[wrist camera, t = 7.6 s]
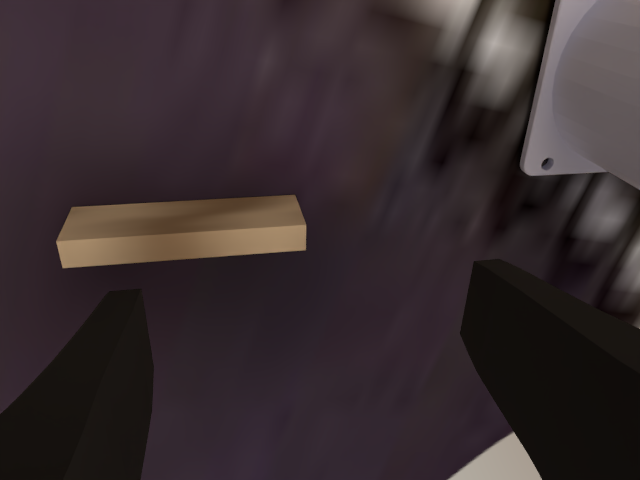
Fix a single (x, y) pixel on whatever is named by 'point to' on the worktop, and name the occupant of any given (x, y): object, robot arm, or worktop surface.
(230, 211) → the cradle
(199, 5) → the worktop surface
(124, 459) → the robot arm
